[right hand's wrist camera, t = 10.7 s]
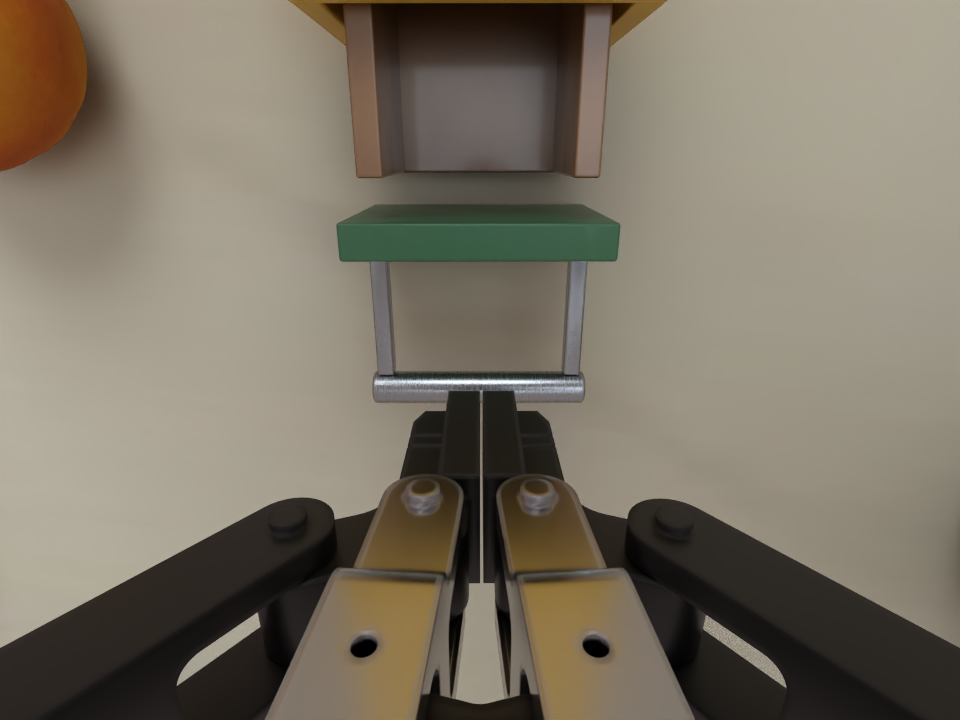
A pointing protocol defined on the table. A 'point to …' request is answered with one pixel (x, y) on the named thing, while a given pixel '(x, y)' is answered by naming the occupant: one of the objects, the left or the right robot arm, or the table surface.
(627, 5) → the cabinet
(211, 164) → the table surface
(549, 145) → the drawer
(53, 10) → the fruit
